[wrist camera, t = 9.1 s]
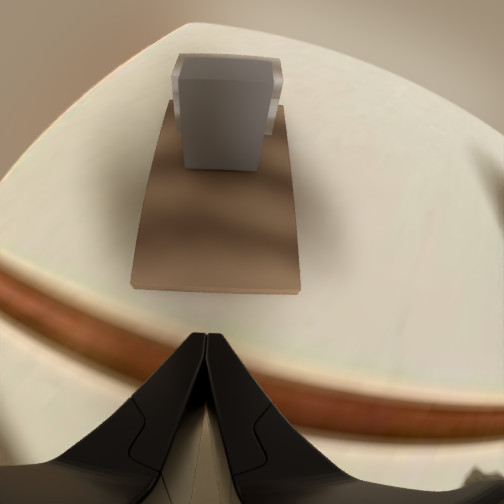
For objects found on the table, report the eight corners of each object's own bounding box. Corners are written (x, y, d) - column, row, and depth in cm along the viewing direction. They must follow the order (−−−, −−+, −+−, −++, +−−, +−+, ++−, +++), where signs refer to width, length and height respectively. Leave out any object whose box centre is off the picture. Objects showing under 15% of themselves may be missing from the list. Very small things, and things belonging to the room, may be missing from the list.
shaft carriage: (256, 171, 25) (274, 83, 17) (184, 168, 25) (177, 79, 17) (254, 85, 31) (265, 15, 23) (200, 82, 30) (202, 12, 22)
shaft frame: (296, 294, 23) (330, 251, 16) (134, 288, 22) (101, 241, 15) (281, 113, 31) (294, 56, 24) (170, 108, 30) (165, 49, 23)
